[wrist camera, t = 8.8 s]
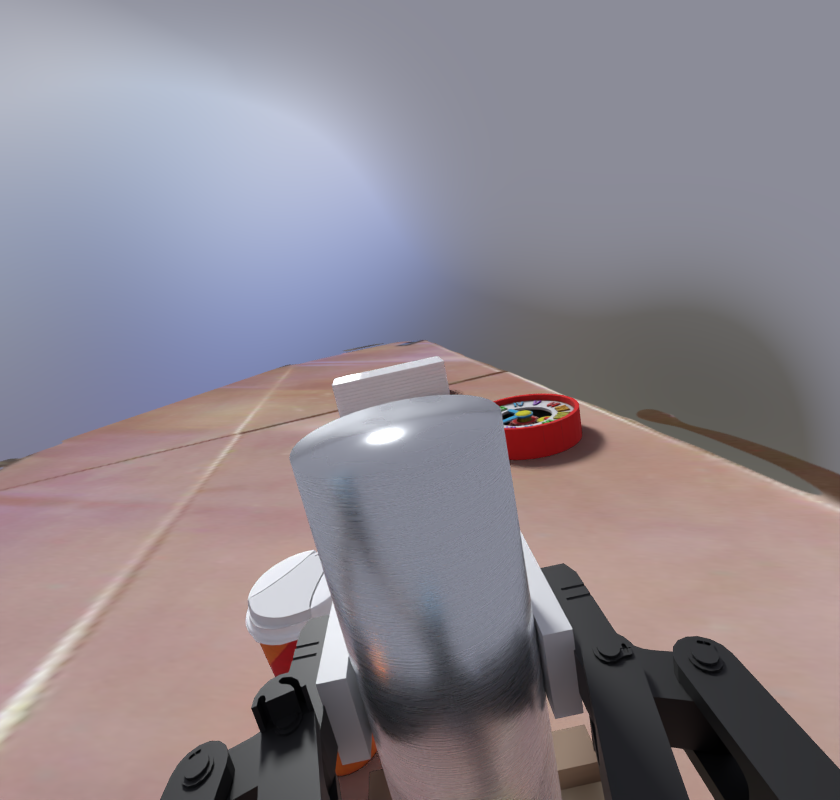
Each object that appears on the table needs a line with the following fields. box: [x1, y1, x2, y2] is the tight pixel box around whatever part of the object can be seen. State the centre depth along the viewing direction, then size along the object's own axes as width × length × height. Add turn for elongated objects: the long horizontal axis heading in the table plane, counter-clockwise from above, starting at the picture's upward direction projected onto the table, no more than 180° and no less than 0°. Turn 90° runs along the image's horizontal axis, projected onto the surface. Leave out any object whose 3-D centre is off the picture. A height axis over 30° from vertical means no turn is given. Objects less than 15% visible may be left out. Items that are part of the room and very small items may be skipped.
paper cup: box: [246, 550, 377, 776], centre depth 30 cm, size 8×8×14 cm
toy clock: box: [493, 394, 582, 460], centre depth 79 cm, size 20×6×20 cm
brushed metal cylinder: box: [290, 395, 562, 800], centre depth 12 cm, size 5×5×16 cm
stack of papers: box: [332, 356, 450, 418], centre depth 123 cm, size 32×11×11 cm, turn 97°
